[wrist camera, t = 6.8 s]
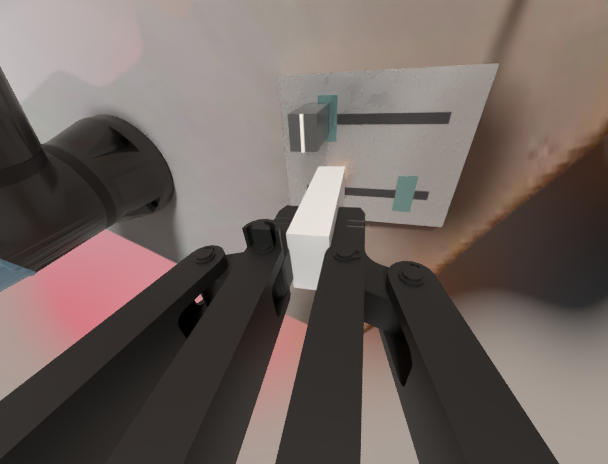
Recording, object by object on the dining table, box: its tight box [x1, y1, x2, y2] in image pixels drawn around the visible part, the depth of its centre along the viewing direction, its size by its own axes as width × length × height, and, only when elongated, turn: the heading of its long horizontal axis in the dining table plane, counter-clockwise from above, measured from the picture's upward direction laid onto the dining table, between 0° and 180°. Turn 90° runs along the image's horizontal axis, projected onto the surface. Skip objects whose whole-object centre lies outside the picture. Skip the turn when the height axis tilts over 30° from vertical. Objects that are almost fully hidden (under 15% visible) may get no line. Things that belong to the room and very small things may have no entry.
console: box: [278, 63, 499, 227], centre depth 26 cm, size 19×16×2 cm
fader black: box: [287, 104, 328, 153], centre depth 22 cm, size 2×3×6 cm
